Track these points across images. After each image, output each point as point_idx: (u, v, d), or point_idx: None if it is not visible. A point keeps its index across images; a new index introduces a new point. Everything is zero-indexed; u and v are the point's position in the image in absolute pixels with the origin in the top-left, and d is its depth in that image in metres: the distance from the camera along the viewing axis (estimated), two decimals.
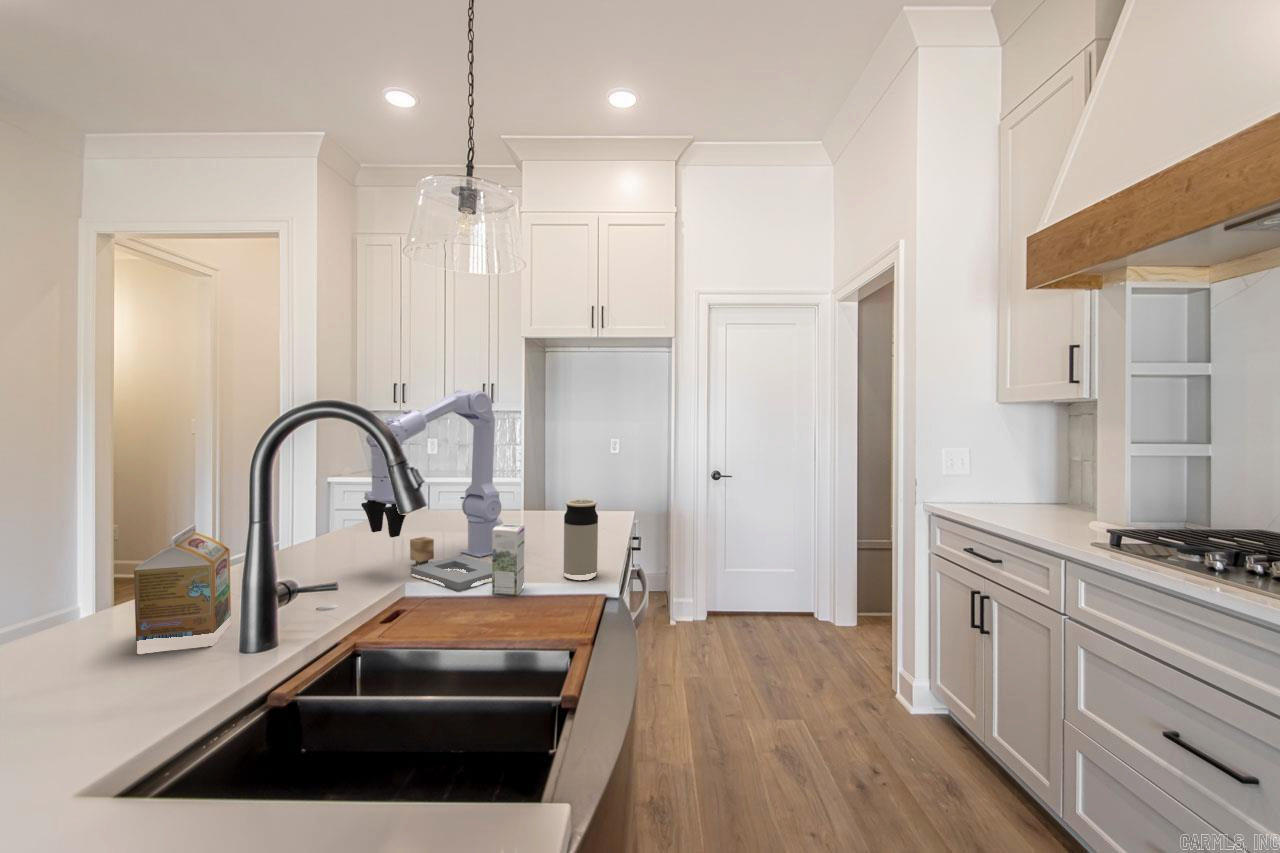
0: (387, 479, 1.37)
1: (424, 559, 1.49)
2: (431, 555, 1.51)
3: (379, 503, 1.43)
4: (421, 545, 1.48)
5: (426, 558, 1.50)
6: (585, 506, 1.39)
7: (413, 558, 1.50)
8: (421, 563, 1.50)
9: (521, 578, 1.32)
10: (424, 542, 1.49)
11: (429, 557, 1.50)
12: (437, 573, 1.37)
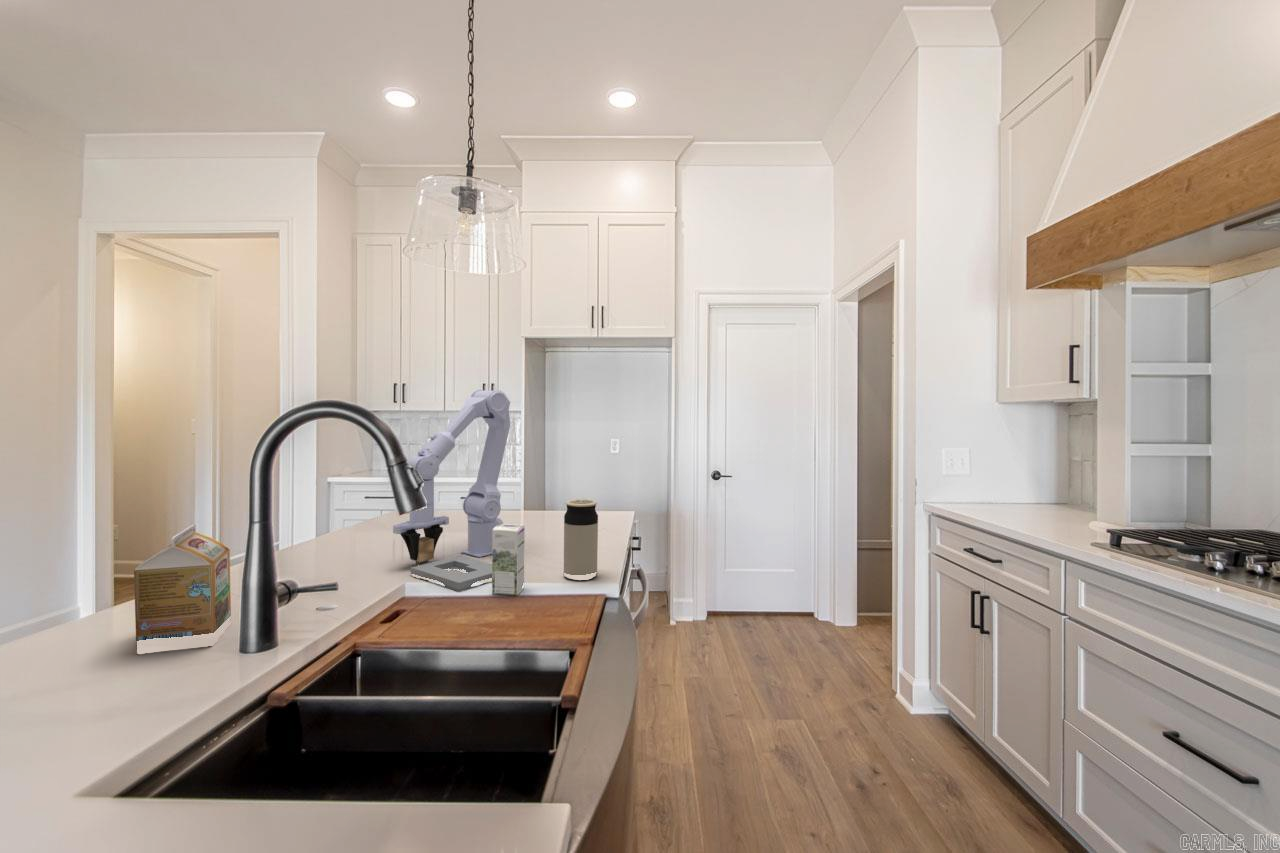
0: None
1: (424, 559, 1.49)
2: (431, 555, 1.51)
3: (431, 530, 1.52)
4: (421, 545, 1.48)
5: (426, 558, 1.50)
6: (585, 506, 1.39)
7: None
8: (421, 563, 1.50)
9: (521, 578, 1.32)
10: (424, 542, 1.49)
11: (429, 557, 1.50)
12: (437, 573, 1.37)
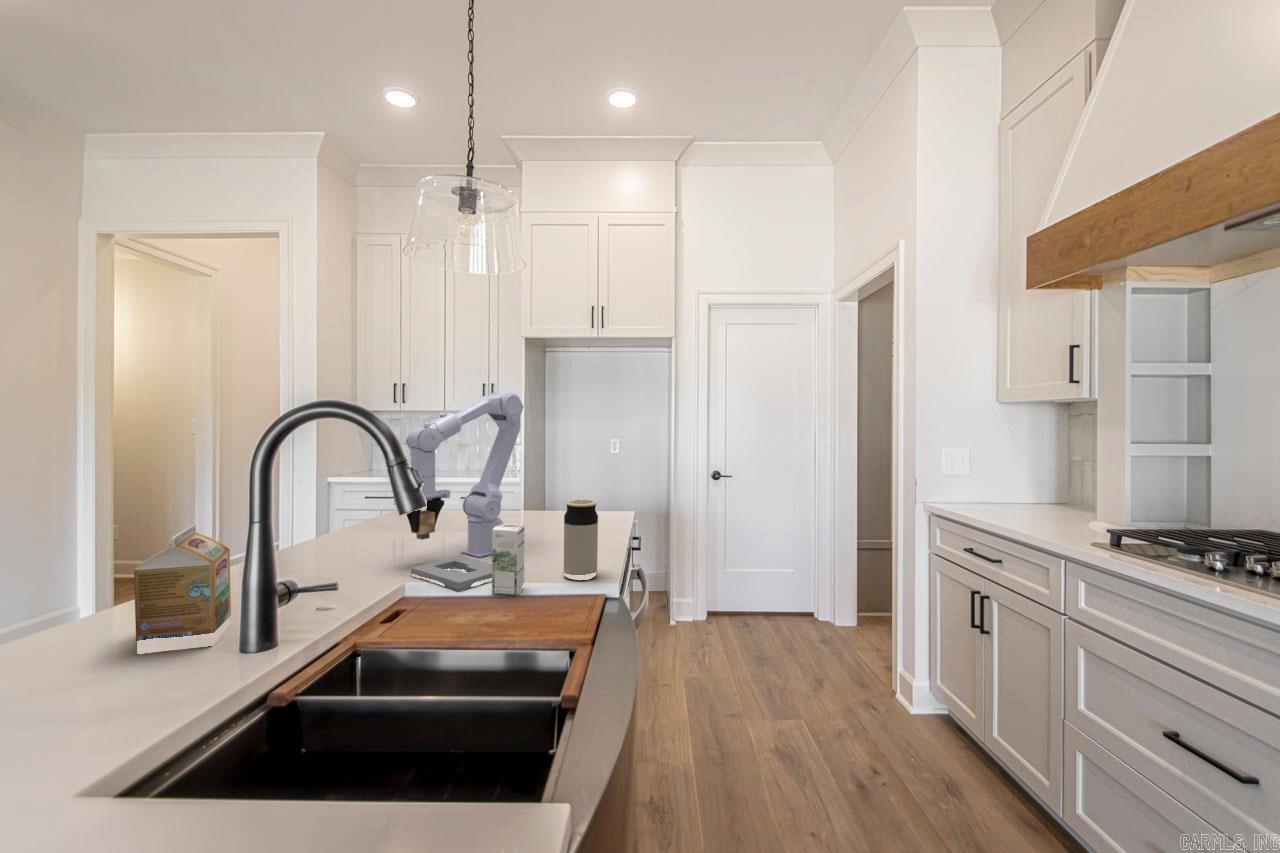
0: None
1: (425, 532, 1.49)
2: (432, 528, 1.50)
3: (432, 502, 1.51)
4: (422, 518, 1.48)
5: (427, 531, 1.49)
6: (585, 506, 1.39)
7: None
8: (422, 536, 1.49)
9: (521, 578, 1.32)
10: (425, 515, 1.48)
11: (430, 530, 1.50)
12: (437, 573, 1.37)
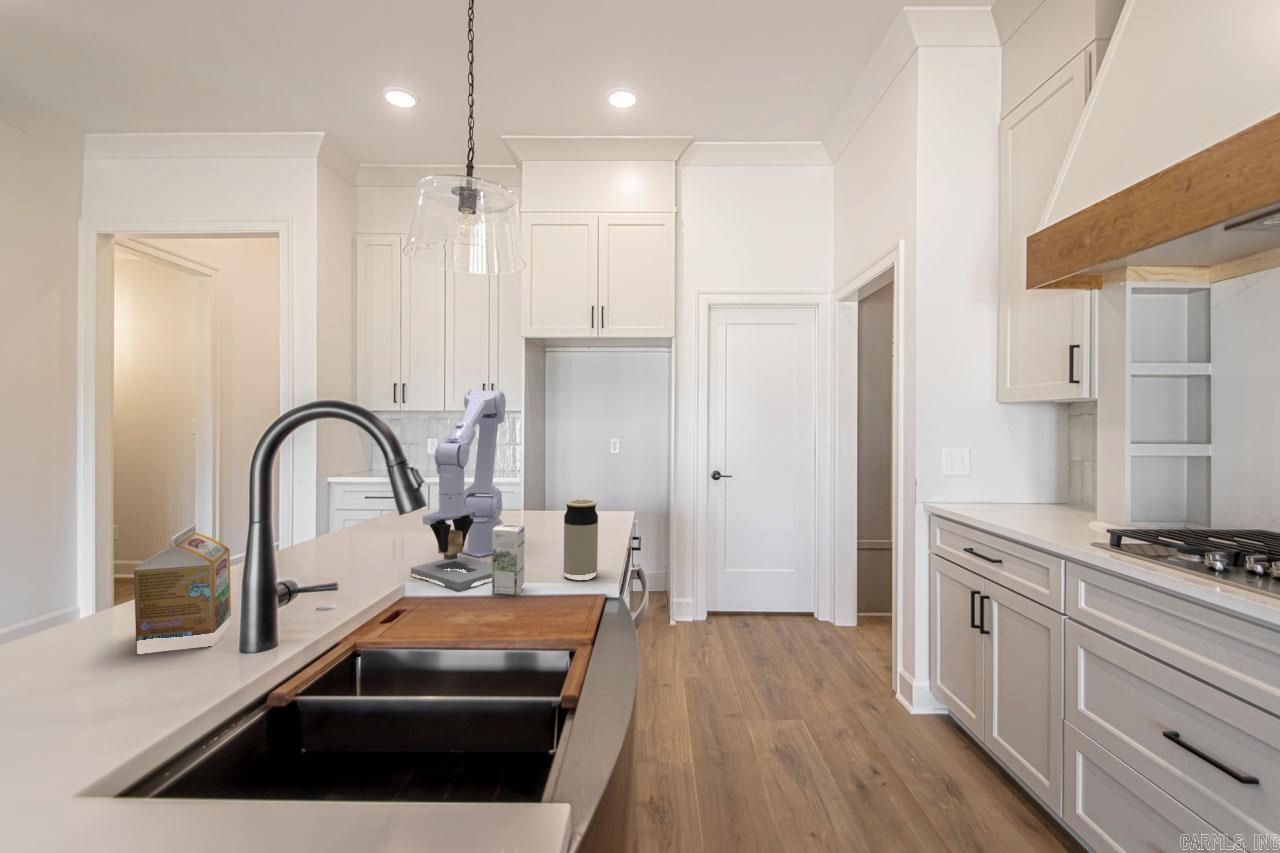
0: (439, 495, 1.41)
1: (453, 552, 1.42)
2: (460, 548, 1.44)
3: (461, 521, 1.45)
4: (450, 538, 1.41)
5: (455, 551, 1.43)
6: (585, 506, 1.39)
7: None
8: (450, 556, 1.43)
9: (521, 578, 1.32)
10: (453, 534, 1.42)
11: (458, 550, 1.43)
12: (437, 573, 1.37)
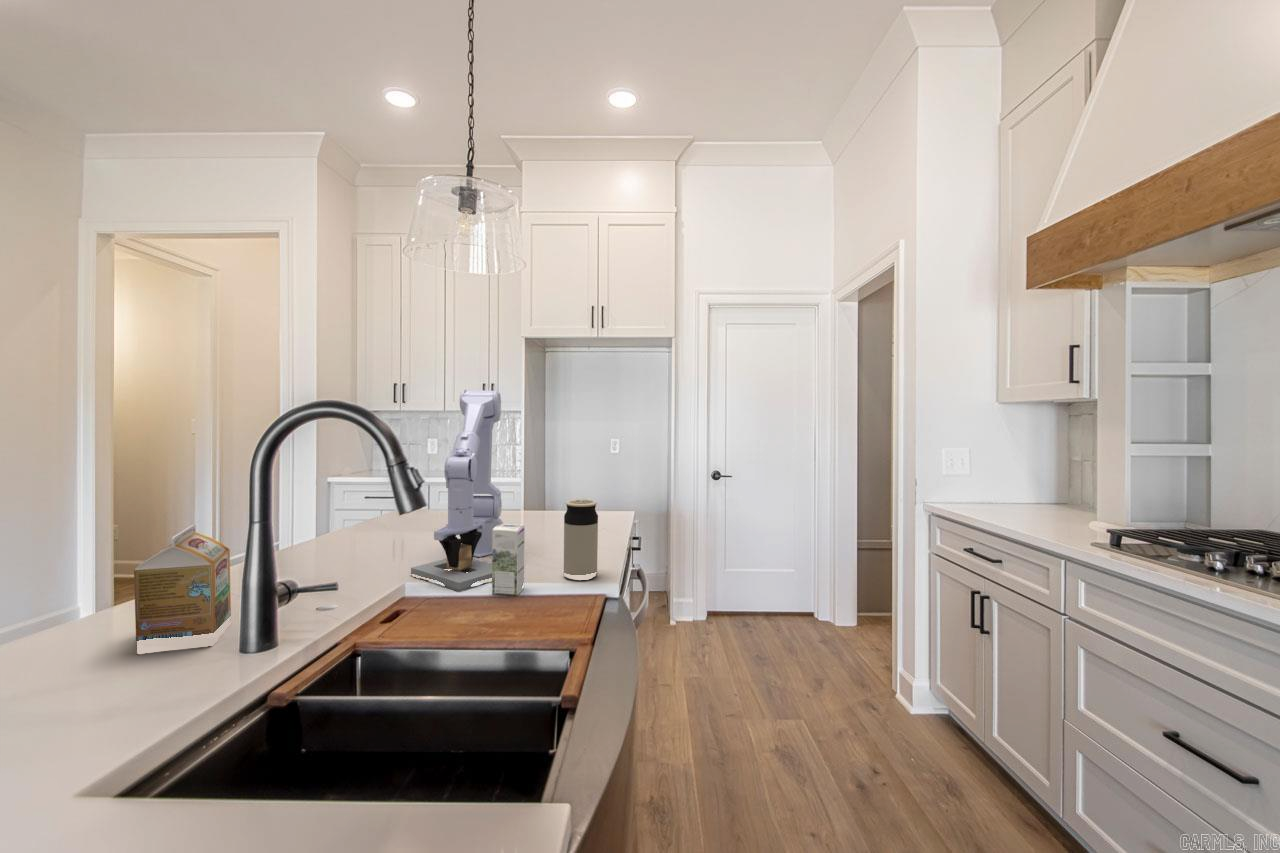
0: (449, 510, 1.39)
1: (463, 567, 1.41)
2: (469, 562, 1.42)
3: (469, 535, 1.43)
4: (460, 552, 1.40)
5: (465, 566, 1.41)
6: (585, 506, 1.39)
7: (451, 567, 1.41)
8: None
9: (521, 578, 1.32)
10: (463, 549, 1.40)
11: (467, 565, 1.42)
12: (437, 573, 1.37)
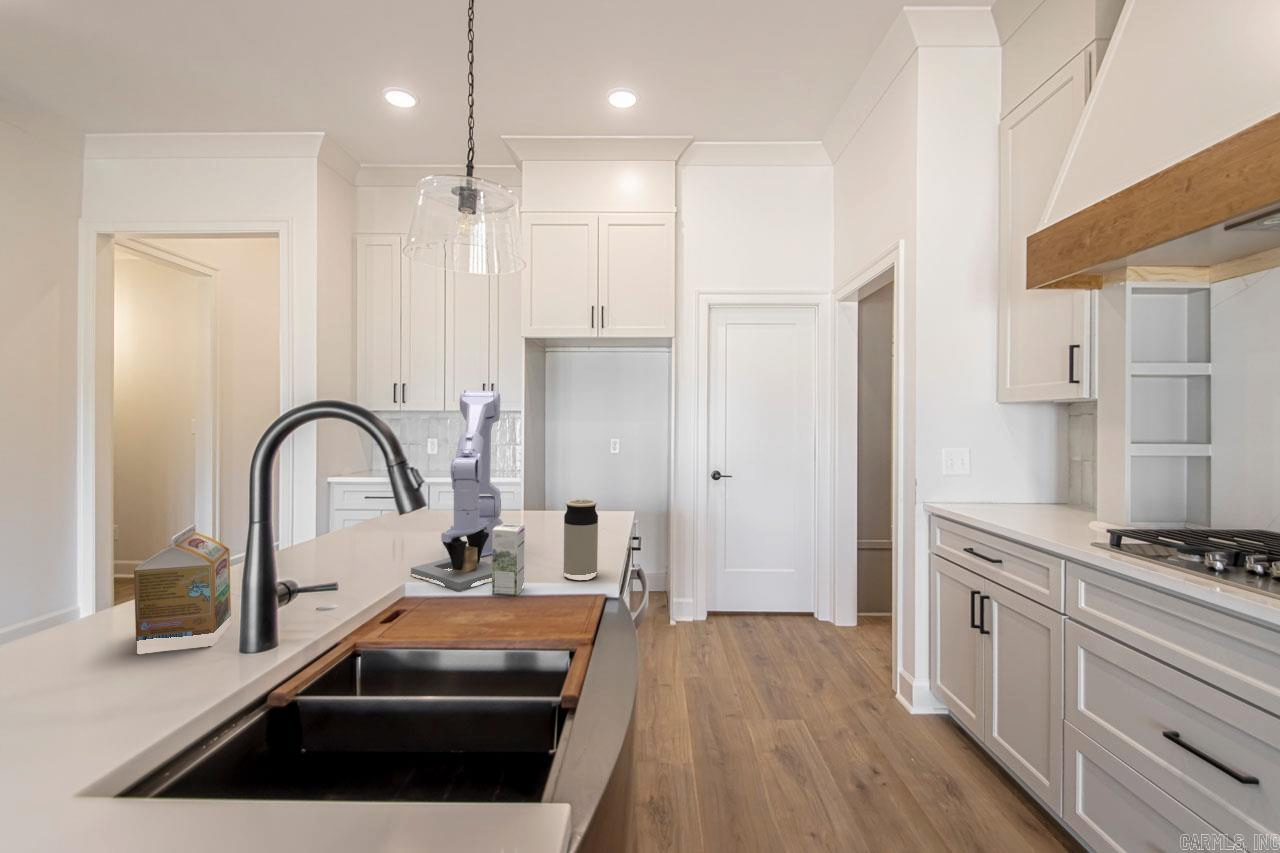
0: (455, 511, 1.38)
1: (469, 570, 1.39)
2: (475, 565, 1.41)
3: (476, 535, 1.43)
4: (467, 555, 1.38)
5: (471, 568, 1.40)
6: (585, 506, 1.39)
7: None
8: None
9: (521, 578, 1.32)
10: (470, 551, 1.39)
11: (474, 567, 1.41)
12: (437, 573, 1.37)
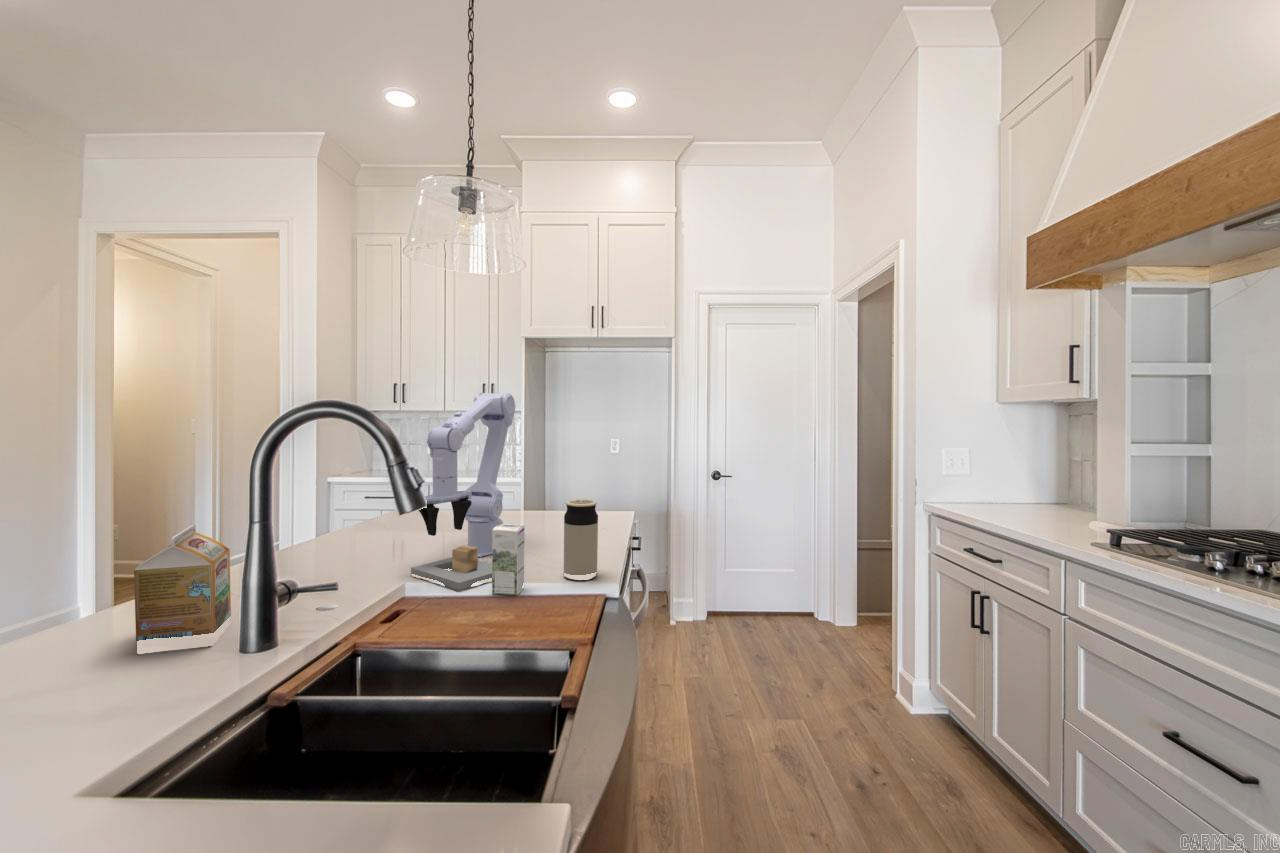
0: (433, 479, 1.44)
1: (469, 570, 1.39)
2: (475, 565, 1.41)
3: (459, 503, 1.49)
4: (467, 555, 1.38)
5: (471, 568, 1.40)
6: (585, 506, 1.39)
7: (457, 569, 1.39)
8: None
9: (521, 578, 1.32)
10: (470, 551, 1.39)
11: (474, 567, 1.41)
12: (437, 573, 1.37)
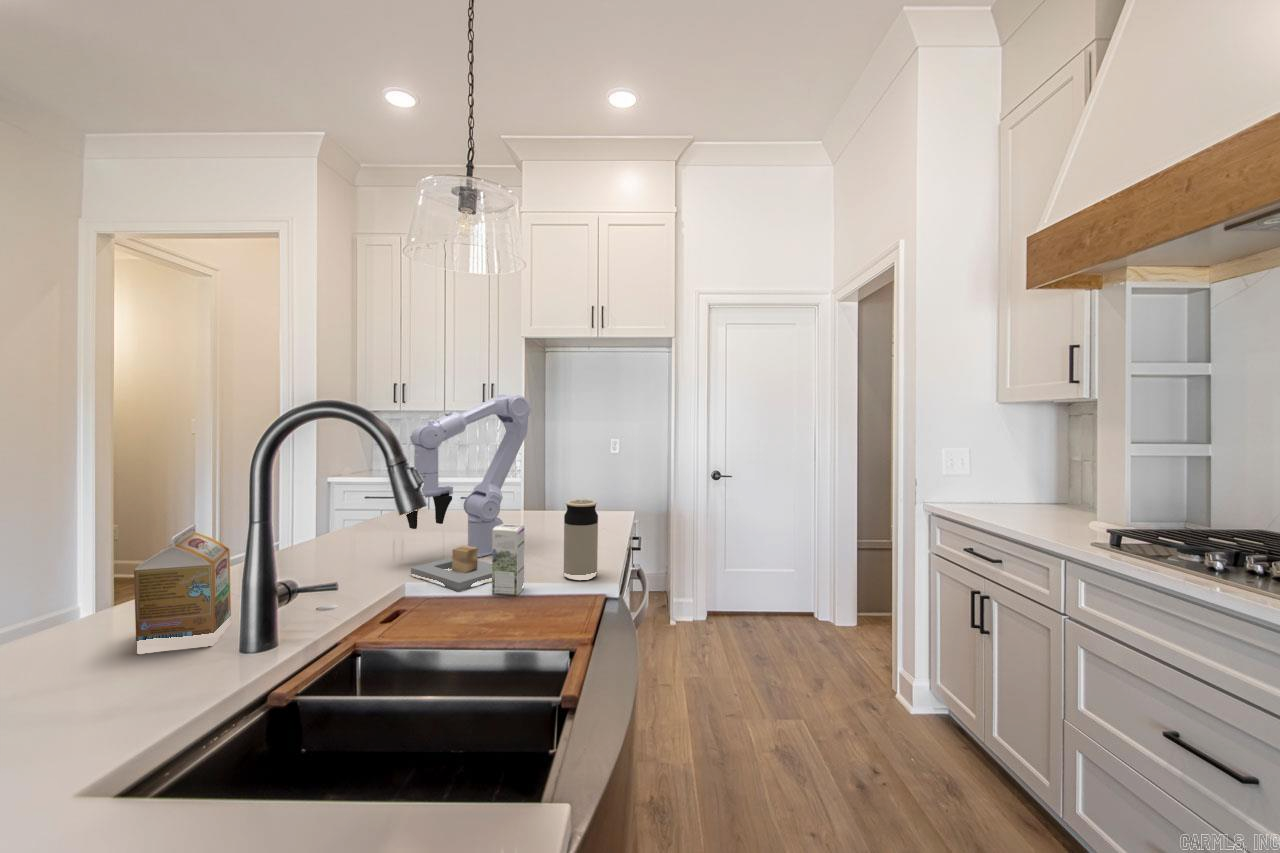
0: None
1: (469, 570, 1.39)
2: (475, 565, 1.41)
3: (440, 498, 1.55)
4: (467, 555, 1.38)
5: (471, 568, 1.40)
6: (585, 506, 1.39)
7: (457, 569, 1.39)
8: None
9: (521, 578, 1.32)
10: (470, 551, 1.39)
11: (474, 567, 1.41)
12: (437, 573, 1.37)
